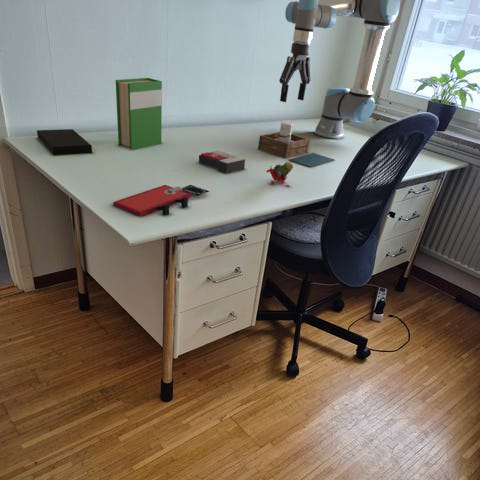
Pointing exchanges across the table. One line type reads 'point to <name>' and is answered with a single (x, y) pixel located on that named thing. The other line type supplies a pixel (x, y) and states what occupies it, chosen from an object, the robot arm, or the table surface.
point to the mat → (311, 160)
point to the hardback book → (139, 112)
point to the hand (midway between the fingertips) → (291, 100)
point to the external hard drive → (64, 142)
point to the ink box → (285, 131)
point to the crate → (283, 145)
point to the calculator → (222, 161)
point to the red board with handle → (158, 199)
